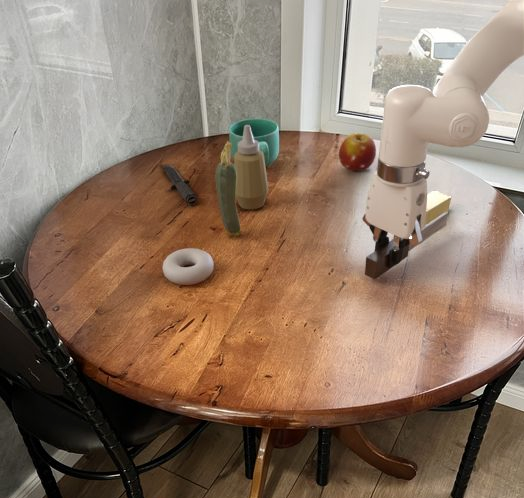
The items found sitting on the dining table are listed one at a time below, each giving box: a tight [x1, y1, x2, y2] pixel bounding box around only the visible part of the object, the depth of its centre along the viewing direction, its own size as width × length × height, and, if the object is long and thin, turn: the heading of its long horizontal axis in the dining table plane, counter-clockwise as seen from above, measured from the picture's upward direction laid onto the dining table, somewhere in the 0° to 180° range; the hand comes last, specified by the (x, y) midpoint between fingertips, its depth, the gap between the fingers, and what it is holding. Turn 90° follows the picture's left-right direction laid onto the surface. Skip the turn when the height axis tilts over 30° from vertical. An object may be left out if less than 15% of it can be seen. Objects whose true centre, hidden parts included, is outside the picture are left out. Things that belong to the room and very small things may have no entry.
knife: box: [163, 165, 198, 206], centre depth 134 cm, size 24×5×3 cm, turn 17°
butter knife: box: [364, 211, 449, 280], centre depth 104 cm, size 2×24×4 cm, turn 132°
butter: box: [426, 190, 452, 224], centre depth 118 cm, size 4×8×4 cm, turn 132°
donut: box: [161, 247, 215, 286], centre depth 105 cm, size 10×4×10 cm
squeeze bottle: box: [233, 125, 269, 211], centre depth 119 cm, size 8×8×18 cm
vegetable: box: [214, 140, 242, 237], centre depth 109 cm, size 4×4×20 cm
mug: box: [228, 118, 280, 167], centre depth 137 cm, size 17×13×10 cm
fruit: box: [338, 132, 377, 172], centre depth 135 cm, size 10×9×8 cm
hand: (387, 260), depth 102 cm, fingers closed on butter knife, 2 cm apart
